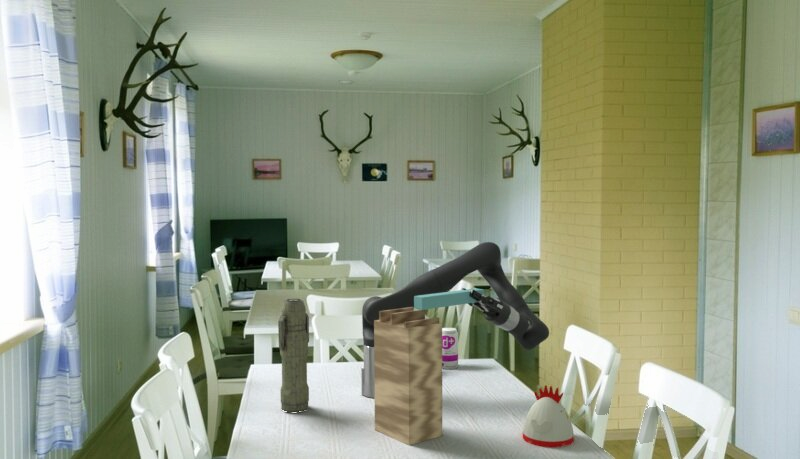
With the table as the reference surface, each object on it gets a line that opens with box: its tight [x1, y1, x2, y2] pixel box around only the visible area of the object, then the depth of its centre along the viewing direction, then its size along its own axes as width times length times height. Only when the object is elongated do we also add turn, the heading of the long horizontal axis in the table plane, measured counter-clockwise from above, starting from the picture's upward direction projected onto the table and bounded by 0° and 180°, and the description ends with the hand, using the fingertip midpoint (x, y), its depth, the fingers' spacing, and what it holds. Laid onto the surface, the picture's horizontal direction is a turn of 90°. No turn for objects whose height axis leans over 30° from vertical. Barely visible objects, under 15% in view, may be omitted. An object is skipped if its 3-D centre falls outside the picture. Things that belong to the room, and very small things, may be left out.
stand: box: [374, 307, 443, 446], centre depth 205 cm, size 12×16×35 cm
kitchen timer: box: [522, 384, 575, 448], centre depth 200 cm, size 14×14×15 cm
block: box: [414, 287, 485, 311], centre depth 209 cm, size 24×4×4 cm, turn 128°
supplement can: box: [442, 327, 459, 370], centre depth 282 cm, size 8×8×15 cm
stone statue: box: [277, 298, 310, 413], centre depth 228 cm, size 9×12×35 cm
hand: (466, 291), depth 213 cm, fingers closed on block, 3 cm apart
